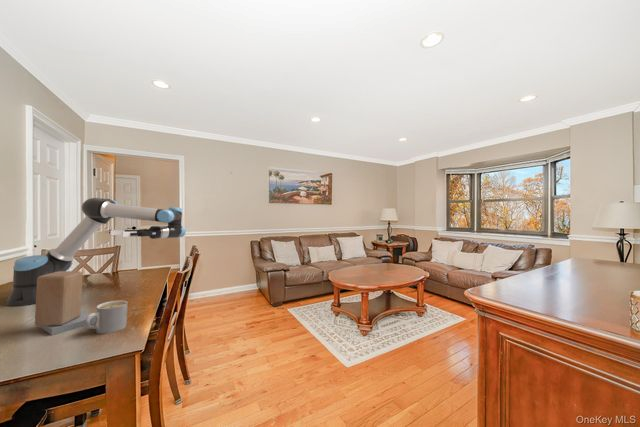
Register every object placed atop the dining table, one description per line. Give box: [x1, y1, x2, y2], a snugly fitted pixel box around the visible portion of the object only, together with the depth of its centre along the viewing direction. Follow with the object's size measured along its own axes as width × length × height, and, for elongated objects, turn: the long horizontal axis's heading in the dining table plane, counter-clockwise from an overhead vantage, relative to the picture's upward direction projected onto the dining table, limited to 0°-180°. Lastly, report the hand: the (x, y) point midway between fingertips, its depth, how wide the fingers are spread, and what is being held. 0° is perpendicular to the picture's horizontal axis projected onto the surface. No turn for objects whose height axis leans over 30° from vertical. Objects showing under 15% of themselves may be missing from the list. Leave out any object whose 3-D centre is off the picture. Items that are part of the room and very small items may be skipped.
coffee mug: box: [85, 300, 128, 335], centre depth 103 cm, size 13×10×10 cm
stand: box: [39, 310, 96, 336], centre depth 107 cm, size 14×14×2 cm
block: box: [34, 270, 84, 327], centre depth 104 cm, size 10×10×20 cm
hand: (116, 233), depth 132 cm, fingers open, 13 cm apart
